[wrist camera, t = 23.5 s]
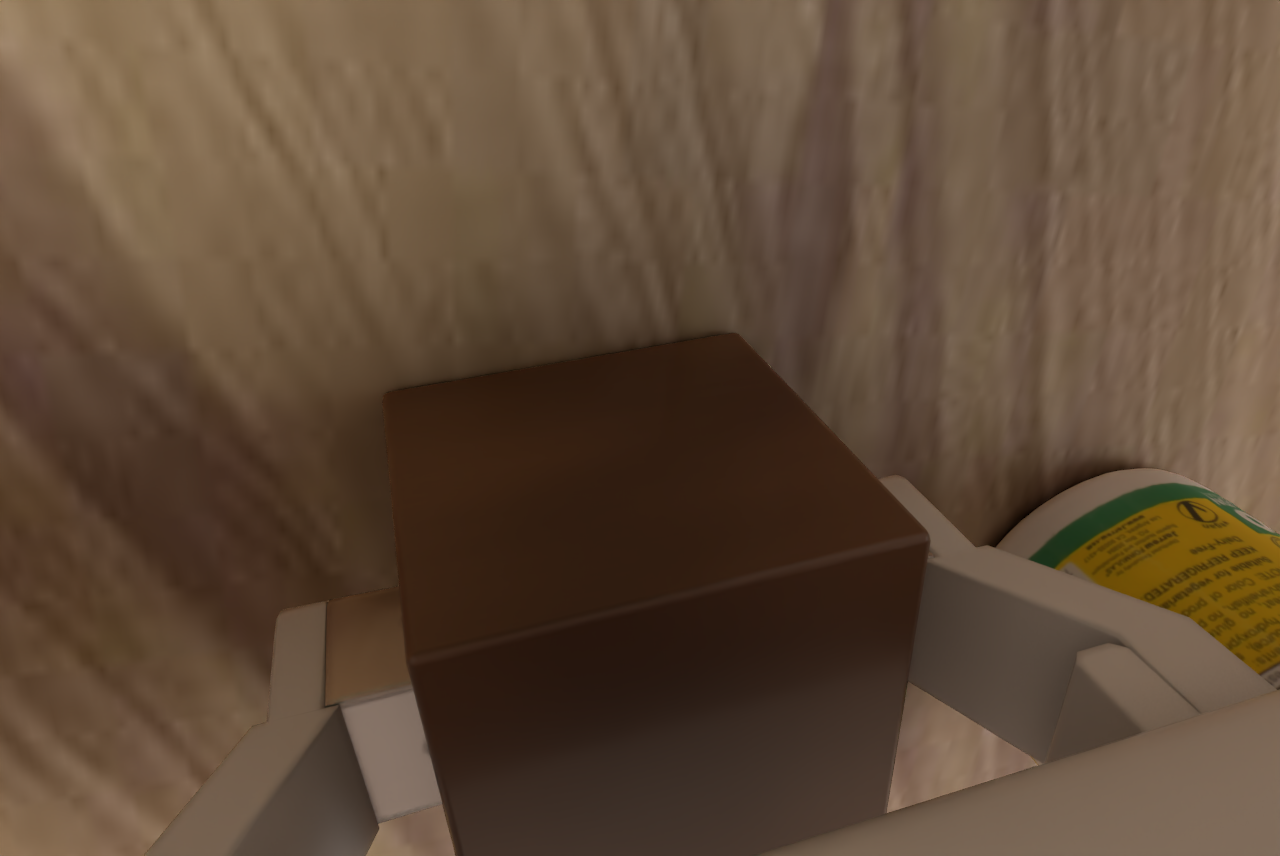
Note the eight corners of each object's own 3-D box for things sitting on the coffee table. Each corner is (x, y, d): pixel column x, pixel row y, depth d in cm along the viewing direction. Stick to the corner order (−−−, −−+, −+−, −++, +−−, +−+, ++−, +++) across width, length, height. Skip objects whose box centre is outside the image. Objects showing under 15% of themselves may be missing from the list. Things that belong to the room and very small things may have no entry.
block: (738, 329, 11) (936, 533, 8) (734, 593, 14) (884, 850, 10) (380, 390, 10) (403, 661, 6) (442, 664, 13) (485, 979, 9)
